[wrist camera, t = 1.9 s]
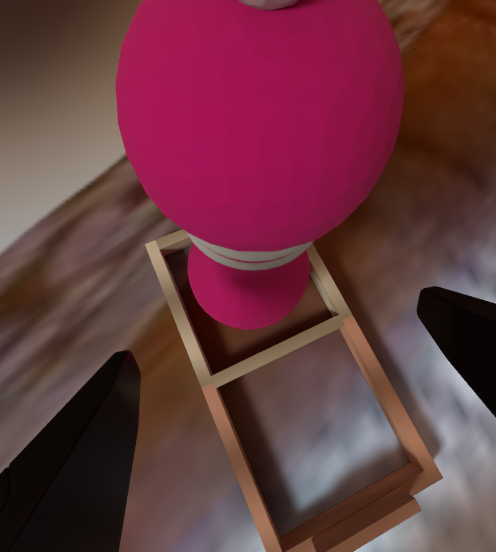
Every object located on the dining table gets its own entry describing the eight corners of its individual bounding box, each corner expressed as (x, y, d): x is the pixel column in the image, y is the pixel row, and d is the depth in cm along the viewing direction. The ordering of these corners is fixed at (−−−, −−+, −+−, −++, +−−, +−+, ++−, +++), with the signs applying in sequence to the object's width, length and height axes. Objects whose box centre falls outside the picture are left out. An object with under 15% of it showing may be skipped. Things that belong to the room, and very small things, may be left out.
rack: (427, 468, 19) (461, 488, 16) (273, 559, 17) (279, 599, 15) (279, 198, 24) (285, 177, 21) (151, 251, 23) (137, 236, 20)
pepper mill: (287, 236, 23) (509, -371, 4) (302, 328, 21) (904, 31, 2) (195, 246, 23) (-64, -369, 4) (203, 340, 21) (-284, 126, 2)
